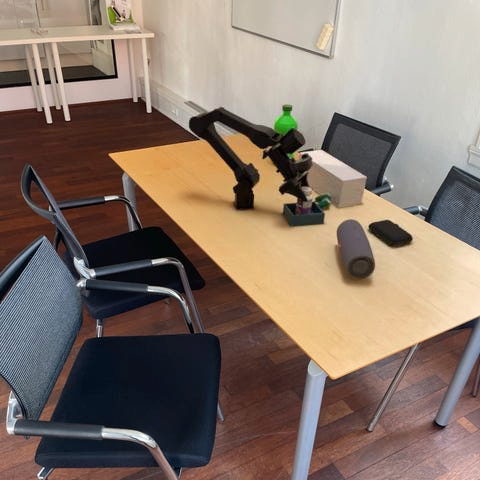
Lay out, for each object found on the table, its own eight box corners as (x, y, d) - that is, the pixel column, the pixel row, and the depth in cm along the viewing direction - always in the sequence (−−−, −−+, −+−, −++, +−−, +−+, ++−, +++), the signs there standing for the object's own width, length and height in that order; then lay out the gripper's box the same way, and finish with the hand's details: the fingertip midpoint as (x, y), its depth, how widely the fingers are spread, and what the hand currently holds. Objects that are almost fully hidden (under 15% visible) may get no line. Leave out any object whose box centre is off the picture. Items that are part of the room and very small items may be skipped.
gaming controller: (318, 215, 177) (331, 206, 174) (312, 207, 176) (325, 198, 173) (320, 205, 184) (332, 196, 181) (314, 197, 183) (327, 188, 180)
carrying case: (416, 243, 159) (389, 224, 169) (419, 235, 157) (391, 216, 167) (391, 248, 155) (365, 229, 166) (393, 240, 153) (366, 221, 164)
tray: (291, 226, 166) (292, 216, 163) (282, 213, 173) (283, 203, 171) (323, 223, 168) (325, 213, 166) (313, 211, 176) (314, 201, 173)
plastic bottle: (266, 164, 212) (270, 106, 196) (278, 158, 219) (283, 101, 203) (285, 169, 208) (291, 110, 192) (297, 163, 214) (303, 105, 199)
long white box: (296, 177, 201) (299, 152, 194) (317, 174, 205) (321, 149, 198) (338, 207, 179) (343, 180, 172) (361, 203, 182) (367, 177, 176)
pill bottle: (293, 211, 171) (296, 186, 165) (306, 210, 172) (310, 185, 166) (298, 218, 167) (301, 192, 161) (312, 217, 168) (316, 191, 162)
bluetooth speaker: (332, 244, 156) (337, 216, 150) (359, 245, 156) (366, 218, 150) (341, 282, 139) (347, 253, 132) (372, 283, 139) (380, 254, 132)
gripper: (291, 156, 149) (319, 196, 153) (308, 140, 163) (333, 176, 167) (266, 175, 156) (294, 213, 160) (284, 158, 170) (309, 193, 174)
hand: (308, 198), depth 165 cm, fingers closed on pill bottle, 5 cm apart
